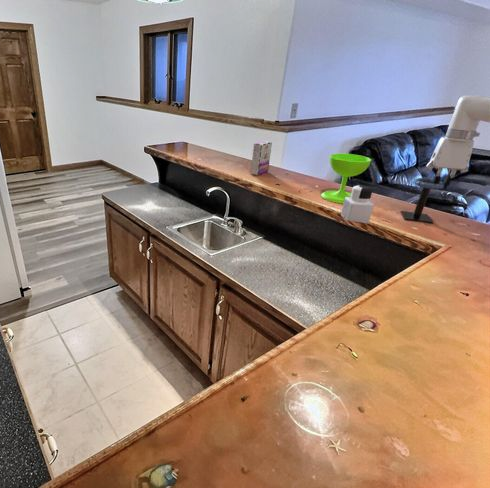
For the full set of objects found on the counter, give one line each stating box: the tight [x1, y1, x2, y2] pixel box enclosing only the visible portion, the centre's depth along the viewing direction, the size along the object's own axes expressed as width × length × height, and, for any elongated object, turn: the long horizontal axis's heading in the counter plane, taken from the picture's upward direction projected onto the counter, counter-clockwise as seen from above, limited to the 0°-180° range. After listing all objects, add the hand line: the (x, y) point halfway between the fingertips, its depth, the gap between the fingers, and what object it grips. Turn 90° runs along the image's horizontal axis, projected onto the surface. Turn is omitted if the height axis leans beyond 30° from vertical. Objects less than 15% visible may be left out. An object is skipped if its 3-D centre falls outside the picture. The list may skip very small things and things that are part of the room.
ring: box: [413, 177, 445, 190], centre depth 128 cm, size 9×9×2 cm
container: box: [340, 184, 375, 224], centre depth 130 cm, size 8×8×13 cm
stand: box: [400, 187, 434, 225], centre depth 131 cm, size 9×9×14 cm
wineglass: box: [320, 153, 372, 205], centre depth 152 cm, size 16×16×18 cm
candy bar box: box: [250, 140, 273, 176], centre depth 188 cm, size 11×5×16 cm, turn 136°
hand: (439, 186), depth 127 cm, fingers closed on ring, 2 cm apart
